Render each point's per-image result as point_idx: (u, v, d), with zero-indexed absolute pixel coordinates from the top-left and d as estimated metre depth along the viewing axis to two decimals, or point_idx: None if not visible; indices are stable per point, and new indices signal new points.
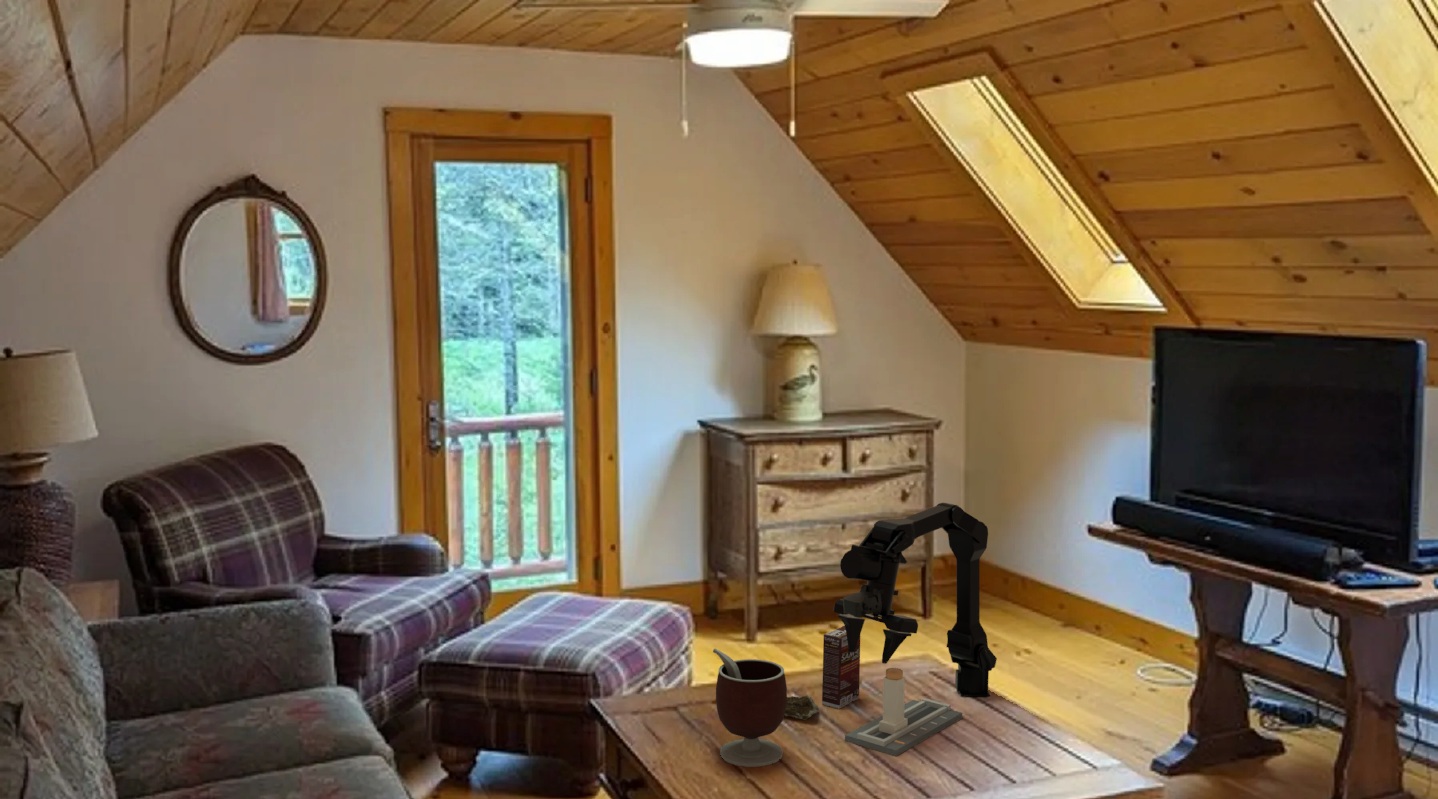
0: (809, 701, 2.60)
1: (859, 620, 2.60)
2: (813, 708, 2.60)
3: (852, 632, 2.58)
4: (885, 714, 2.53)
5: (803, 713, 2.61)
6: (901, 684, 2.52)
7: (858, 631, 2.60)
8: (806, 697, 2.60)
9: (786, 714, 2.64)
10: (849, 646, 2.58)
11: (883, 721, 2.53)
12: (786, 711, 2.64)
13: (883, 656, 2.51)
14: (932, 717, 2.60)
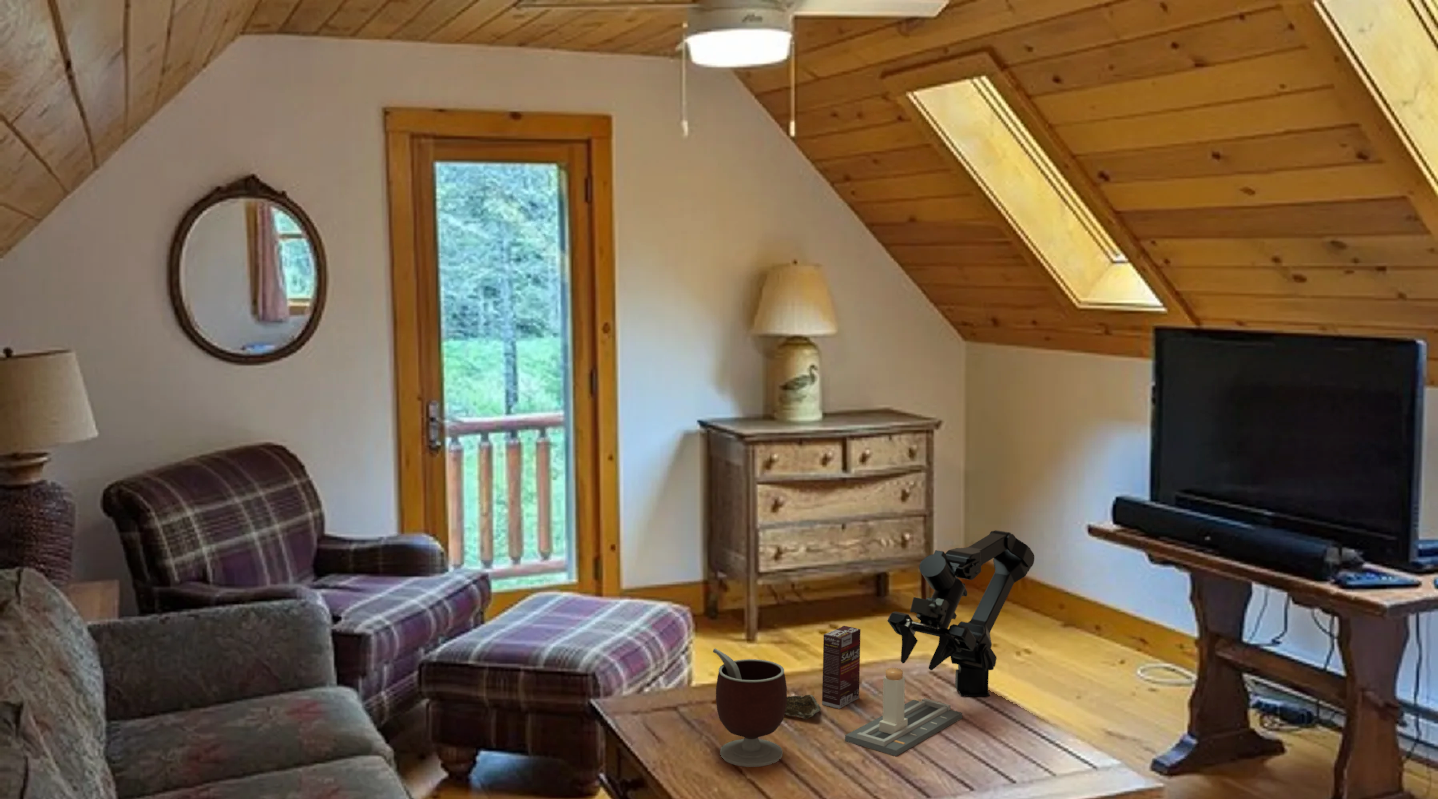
0: (811, 700, 2.61)
1: (914, 637, 2.65)
2: (816, 707, 2.60)
3: (908, 644, 2.63)
4: (885, 714, 2.53)
5: (805, 712, 2.61)
6: (901, 684, 2.52)
7: (911, 647, 2.64)
8: (808, 696, 2.61)
9: (788, 713, 2.65)
10: (902, 655, 2.61)
11: (883, 721, 2.53)
12: (788, 710, 2.65)
13: (932, 661, 2.57)
14: (932, 717, 2.60)
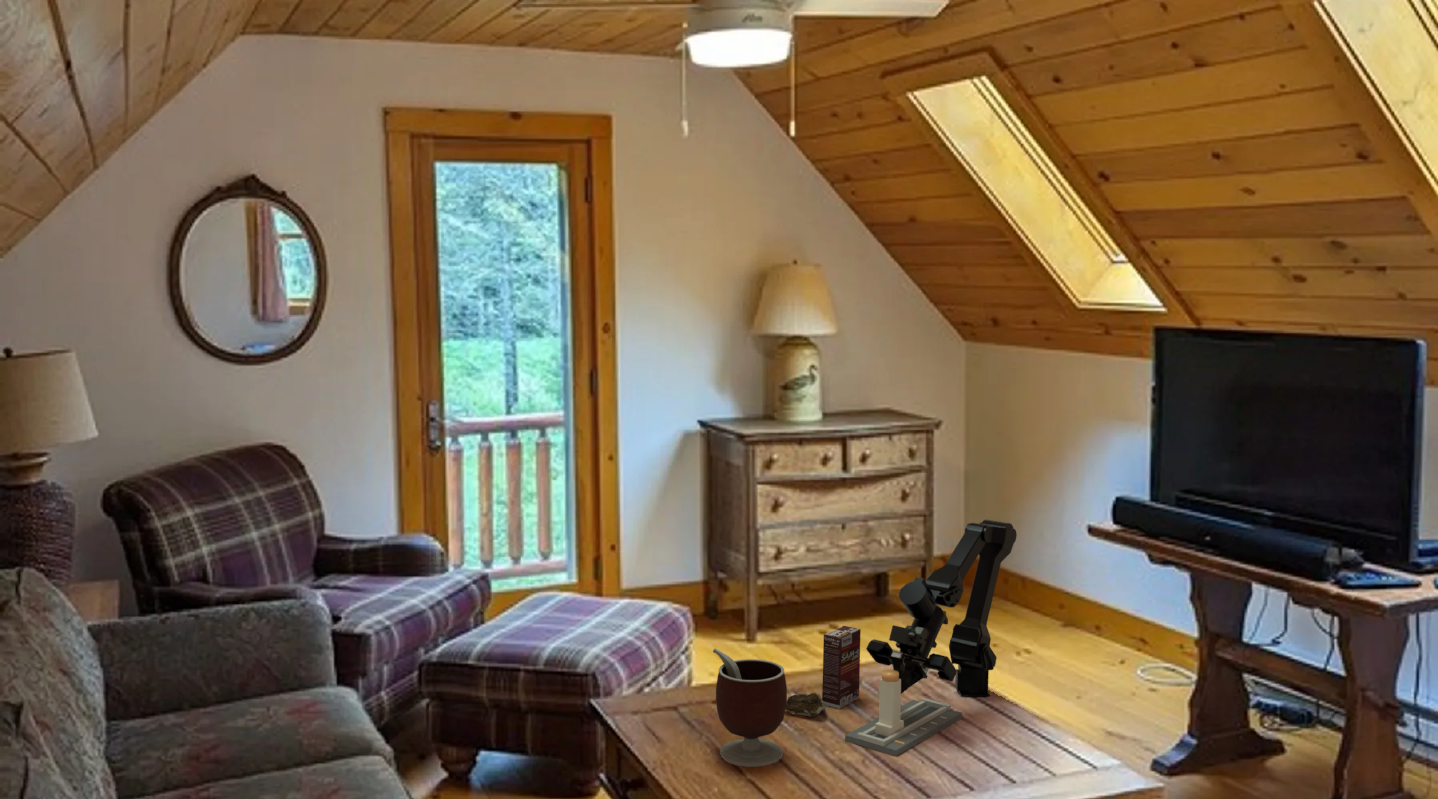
0: (818, 698, 2.62)
1: None
2: (822, 705, 2.61)
3: (900, 676, 2.55)
4: (881, 716, 2.52)
5: (812, 710, 2.62)
6: (897, 686, 2.51)
7: None
8: (814, 694, 2.62)
9: (793, 712, 2.66)
10: None
11: (879, 723, 2.52)
12: (793, 709, 2.65)
13: None
14: (932, 717, 2.60)
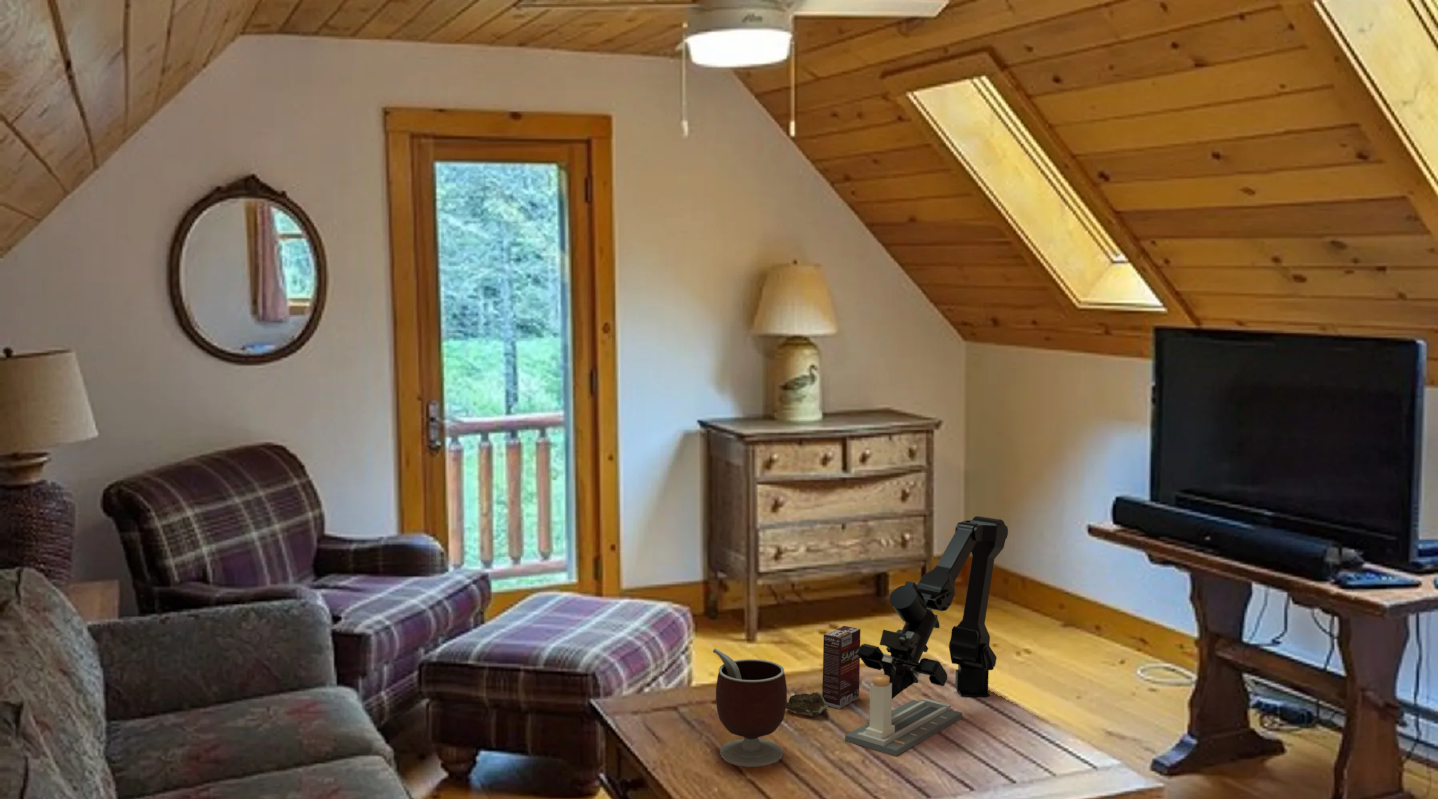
0: (820, 697, 2.62)
1: None
2: (824, 704, 2.62)
3: (890, 681, 2.52)
4: (872, 721, 2.49)
5: (813, 709, 2.63)
6: (888, 690, 2.48)
7: None
8: (816, 693, 2.63)
9: (795, 711, 2.66)
10: None
11: (870, 728, 2.49)
12: (795, 708, 2.66)
13: None
14: (932, 717, 2.60)
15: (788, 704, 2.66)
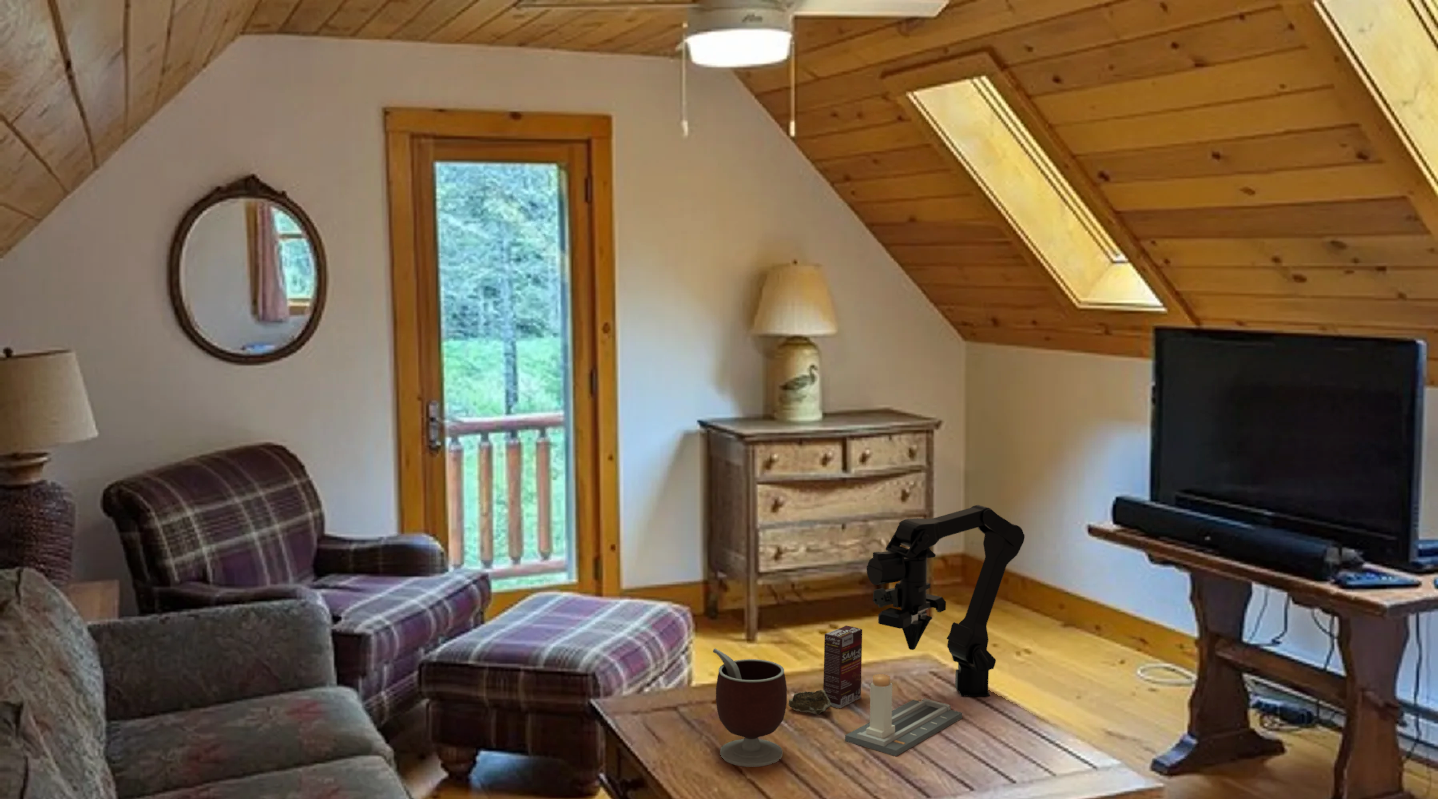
0: (824, 695, 2.63)
1: (919, 619, 2.68)
2: (828, 702, 2.63)
3: None
4: (872, 721, 2.49)
5: (817, 707, 2.64)
6: (888, 690, 2.48)
7: None
8: (820, 691, 2.64)
9: (798, 709, 2.67)
10: None
11: (870, 728, 2.49)
12: (798, 706, 2.67)
13: None
14: (932, 717, 2.60)
15: (792, 702, 2.67)
